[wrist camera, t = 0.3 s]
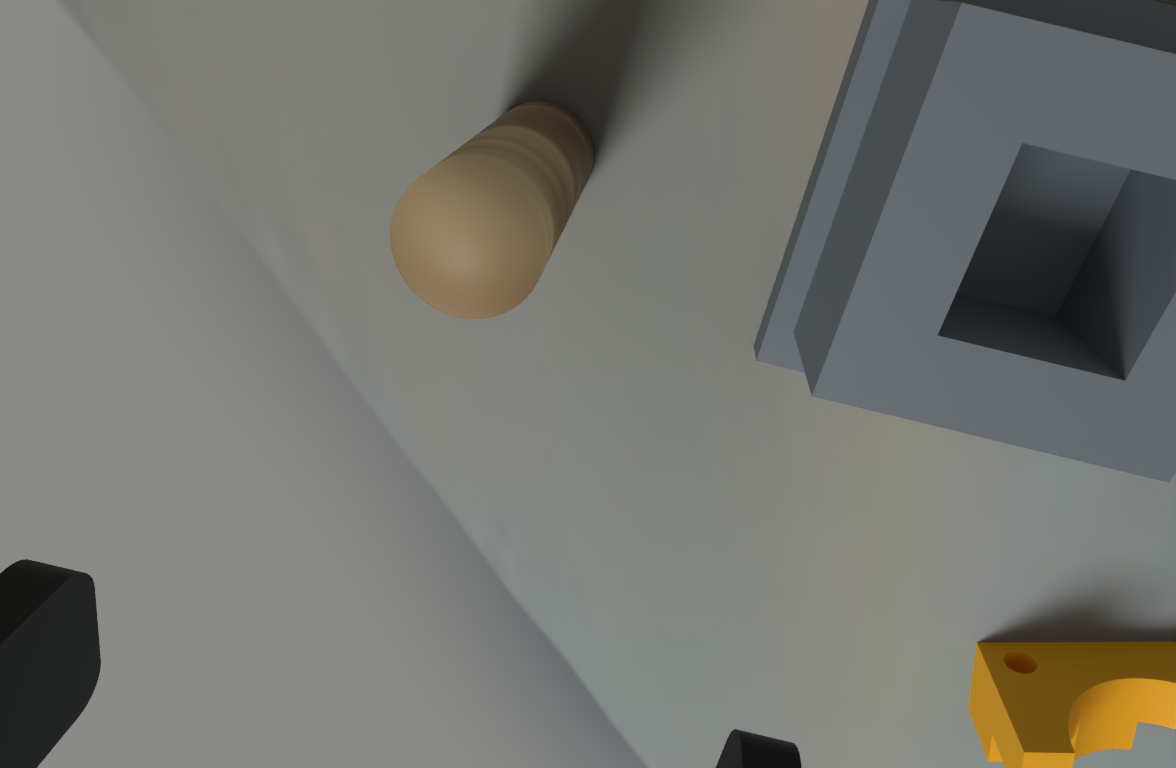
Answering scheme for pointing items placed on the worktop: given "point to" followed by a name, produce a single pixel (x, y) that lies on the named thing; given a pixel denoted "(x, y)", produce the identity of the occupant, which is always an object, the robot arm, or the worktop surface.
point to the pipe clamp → (1068, 698)
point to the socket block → (996, 228)
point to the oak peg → (492, 211)
